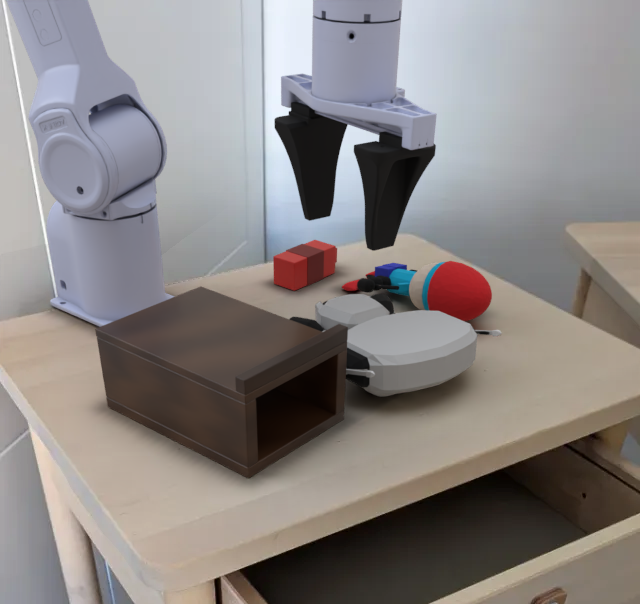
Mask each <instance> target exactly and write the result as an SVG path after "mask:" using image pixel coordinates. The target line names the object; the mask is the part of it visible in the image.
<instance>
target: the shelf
mask: <svg viewBox="0 0 640 604" xmlns="http://www.w3.org/2000/svg"><path fill="white" fill-rule="evenodd" d="M289 319H290V318H286V317H284V316H282V315H279V314H276V313H273V312H271V311H268V310H265V309H263V308H261V307H257V306H255V305H251V304H249V303H247V302H244V301H241V300H238V299H237V298H233V297H230V296H229V295H226V294H222V293H220V292H218V291H214V290H212V289H209V288H207V287H205V286H201V285H200V286H198V287H195V288H194V289H191V290H188V291H186V292H183V293H181V294H178V295H176V296H175V297H173V298H170V299H168V300H165V301H163V302H161V303H158V304H156V305H153V306H151V307H148V308H146V309H143V310H141V311H138V312H136V313H133V314H131V315H128V316H126V317H123V318H121V319H118V320H116V321H113V322H111V323H108V324H106V325H103V326H101V327H99V326H97V327H96V328H94V329H95V336H96V341H97V347H98V354H99V359H100V360H99V361H100V367H101V372H102V373H101V374H102V379H103V380H102V381H103V386H104V392H105V398H106V406H107V407H108V408H110V409H112V410H114V411H115V412H117V413H120V415H123V416H125V417H127V418H129V419H131V420H132V421H133V420H134V421H135V422H137V423H139V424H141V425H143V426H145V427H146V428H149V429H151V430H153V431H154V432H157V433H159V434H161V435H162V436H165V437H167V438H169V439H170V440H172V441H175V442H176V443H178V444H180V445H182V446H184V447H186V448H189V449H191V450H192V451H194V452H195V453H198V454H200V455H202V456H204V457H206V458H208V459H210V460H212V461H213V462H216V463H218V464H220V465H222V466H223V467H226V468H227V469H229V470H232V471H234V472H236V473H237V474H240V475H241V476H243V477H245V478H246V479H247V478H248V479H249V478H252V477H253V476H255V475H256V474H257V473H259V472H261V471H262V470H264V469H265V468H267V467H269V466H271V465H273V464H274V463H275V462H277V461H279V460H280V459H282V458H283V457H286V456H287V455H289V454H290V453H291V452H293V451H295V450H297V449H298V448H300V447H301V446H303V445H304V444H306V443H307V442H309V441H311V440H313V439H314V438H316V437H317V436H319V435H320V434H322V433H324V432H325V431H327V430H329V429H331V428H332V427H333V426H335V425H337V424H339V423H340V422H342V421H343V420H345V406H346V380H347V379H346V361H347V338H348V327H346V326H344V325H341V324H338V325H336V326H334V327H332V328H330V329H328V330H326V331H324V332H321V331H319V330H316V329H313V328H311V327H308V326H305V325H303V324H300V323H297V322H295V321H292V320H289Z"/></svg>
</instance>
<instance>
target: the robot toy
mask: <svg viewBox="0 0 640 604" xmlns="http://www.w3.org/2000/svg"><path fill="white" fill-rule="evenodd" d="M314 308H315V311H314V312H315V319H312V318H307V317H301V316H291V317H290V318H288V319H289V320H292V321H295V322H297V323H300V324H303V325H305V326H308V327H311V328H313V329H316V330H319V331H321V332H324V331H326V330H328V329H330V328H332V327H334V326H336V325H338V324H341V325H344V326H346V327H348V338H347V361H346V380H347V381H349V382H350V383H352V384H354V385H356V386H358V387H359V388H362V389H363V390H365V392H367V393H369V394H372V395H374V396H375V397H376V396H377V397H380V398H382V397H390V396H394V395H397V394H405V393H410V392H416V391H419V390H420V391H421V390H424V389H427V388H432V387H435V386H439V385H442V384H443V383H446V382H448V381H450V380H452V379H454V378H456V377H458V376H459V375H460V374H462V373H463V372H465V371H466V370H468V369H469V368H470V367H472V366H473V365H474V362H475V361H476V357H477V356H476V355H477V343H478V336H479V335H481V336H492V337H499V336H501V335H502V334H503V333H502V332H501V331H502V330H500V329H493V330H489V329H488V330H487V329H486V330H485V329H474V327H473V326H472V324H471V323H469V322H468V321H462V320H460V319H457V318H455V317H452V316H450V315H447V314H445V313H443V312H440V311H427V310H420V309H417V310H408V311H401V312H395V309H394V304H393V301H392V300H391V298H390V296H388V295H387V294H384V293H375V294H372V295H367V294H364V293H349V294H345V295H339V296H334V297H333V298H329V299H327V300H326V301H323V302H322V301H321V300H320V301H318V302H317V303H315V304H314Z"/></svg>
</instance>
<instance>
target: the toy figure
mask: <svg viewBox="0 0 640 604" xmlns="http://www.w3.org/2000/svg"><path fill="white" fill-rule="evenodd" d="M365 277H366V278H365ZM365 277H361V278H359V279H354V280H351V281H347V282H346V283H344V284H343V285H342V286H341V289H343V290H344V291H347V292H355V291H357V290H359V291H360V292H364V293H368V294H369V293H372V292H373V291H376V292H377V291H381V290H385V291H388V293H391V294H396V295H400V296H406V297H410V300H411V303H412V304H413V305H414V307H415V308H417V310H427V311H440V312H443V313H445V314H447V315H450V316H452V317H455V318H457V319H460V320H462V321H464V322H469V321H471V320H475V319H477V318H478V317H480V316H481V315H483V314H484V313H485V312H486V311H487V309H489V307H490V305H491V303H492V300H493V292H492V287H491V285H490V284H489V282H488V280H487V278H486V277H485V276H484V275H483V274H482V273H481V272H479V271H478V270H477V269H475V268H474V267H473V266H469V265H468V264H465V263H463V262H457V261H453V260H448V261H441V262H439V261H438V262H430V263H427V264H425V265H423V266H421V267H420V268H418V270H417V269H408V265H407V264H402V263H397V262H389V263H385V264H381V265H377V266H374V270H372V271H370V272H368V273H366V274H365Z"/></svg>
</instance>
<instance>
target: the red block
mask: <svg viewBox="0 0 640 604" xmlns="http://www.w3.org/2000/svg"><path fill="white" fill-rule="evenodd" d="M337 262H338V247H336V245H333V244H331V243H327V242H324V241H321V240H317V239H313V240H310V241H307V242H305V243H301V244H297V245H296V246H292V247H290V248H288V249H286V250H285V251H283V252H280V253H277V254H275V255H274V256H273V284H274V285H277V286H280V287H282V288H285V289H287V290H291V291H294V292H295V291H298V290H300V289H302V288H305V287H308V286H311V285H313V284H315V283H317V282H320V281H323V280H324V278H327V277H329V276H331V275H333V274H335V273H336V264H337Z"/></svg>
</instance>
